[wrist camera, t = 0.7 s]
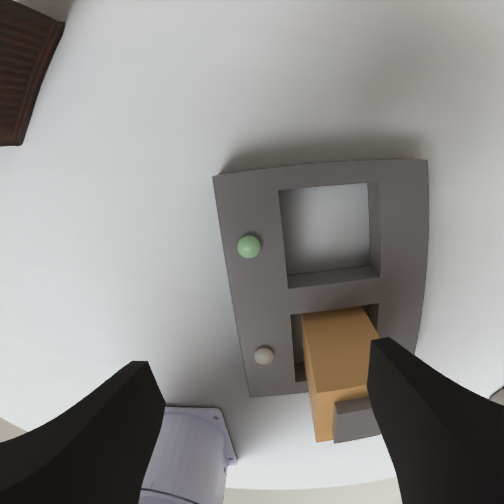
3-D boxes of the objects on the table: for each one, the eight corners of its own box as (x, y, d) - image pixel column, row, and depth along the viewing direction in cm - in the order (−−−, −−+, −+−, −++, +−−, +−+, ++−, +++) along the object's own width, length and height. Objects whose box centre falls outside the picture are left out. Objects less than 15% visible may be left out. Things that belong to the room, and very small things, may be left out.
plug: (356, 347, 20) (391, 439, 12) (302, 355, 21) (317, 453, 12) (358, 300, 19) (407, 388, 11) (300, 307, 19) (319, 405, 11)
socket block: (401, 357, 20) (411, 375, 18) (251, 379, 21) (249, 400, 19) (412, 158, 16) (429, 160, 14) (218, 174, 17) (211, 176, 15)
